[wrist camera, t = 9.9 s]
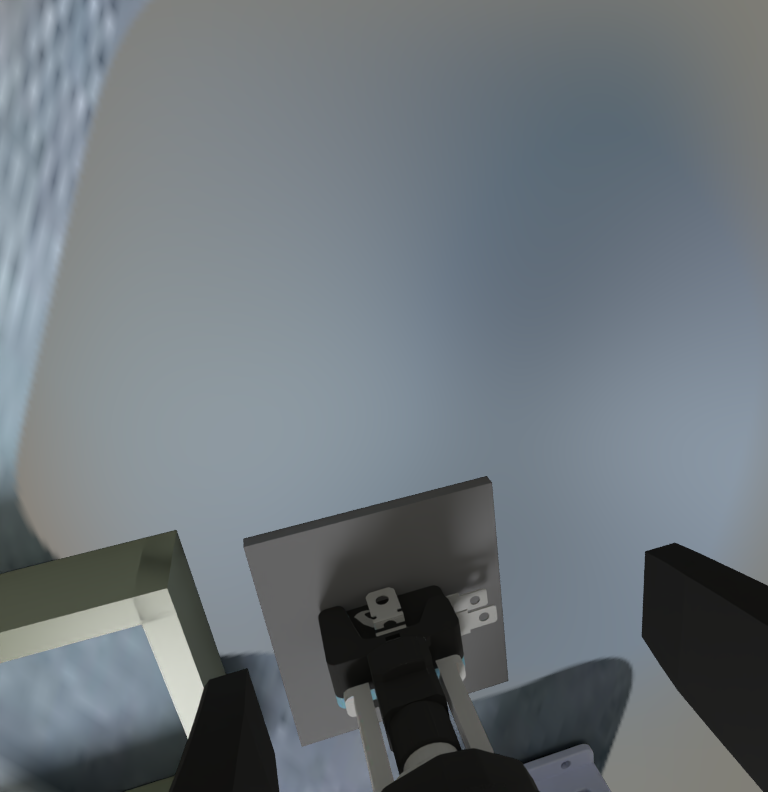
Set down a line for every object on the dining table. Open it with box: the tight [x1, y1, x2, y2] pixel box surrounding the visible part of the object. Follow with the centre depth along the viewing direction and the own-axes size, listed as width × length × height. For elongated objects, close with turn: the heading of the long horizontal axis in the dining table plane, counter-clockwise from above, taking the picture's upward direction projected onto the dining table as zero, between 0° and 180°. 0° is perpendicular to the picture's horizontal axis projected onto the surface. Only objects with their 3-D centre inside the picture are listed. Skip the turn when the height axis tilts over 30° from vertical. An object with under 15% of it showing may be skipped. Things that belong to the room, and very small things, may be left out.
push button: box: [318, 585, 540, 792], centre depth 18 cm, size 7×5×10 cm
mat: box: [243, 476, 508, 747], centre depth 23 cm, size 9×10×1 cm
